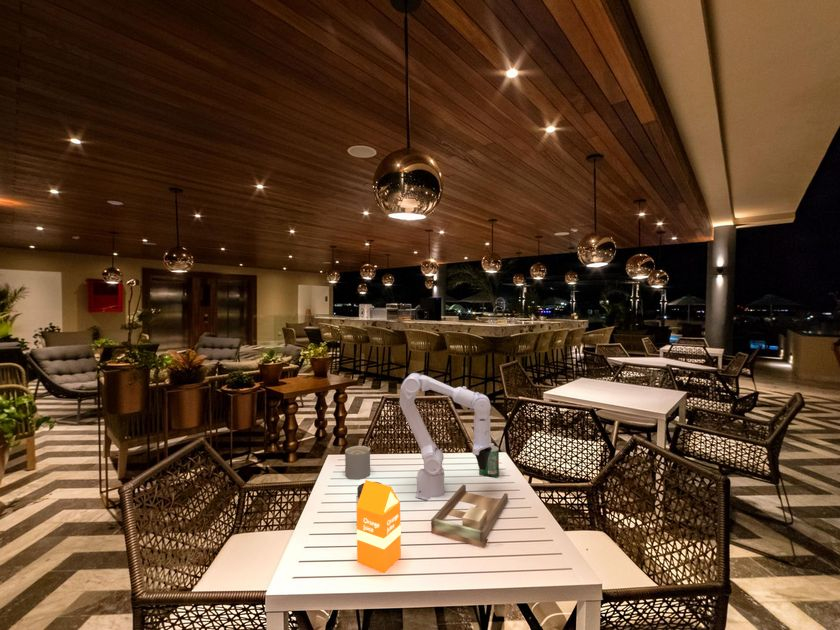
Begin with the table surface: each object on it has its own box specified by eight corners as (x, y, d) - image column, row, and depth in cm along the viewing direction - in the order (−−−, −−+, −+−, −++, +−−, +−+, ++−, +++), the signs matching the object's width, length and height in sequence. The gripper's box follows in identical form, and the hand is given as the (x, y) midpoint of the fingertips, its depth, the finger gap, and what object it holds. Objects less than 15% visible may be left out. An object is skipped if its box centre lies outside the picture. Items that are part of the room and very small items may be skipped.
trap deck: (431, 533, 111) (431, 519, 111) (463, 495, 134) (463, 484, 134) (483, 547, 103) (483, 533, 103) (507, 505, 126) (507, 493, 126)
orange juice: (374, 546, 104) (374, 474, 105) (401, 556, 100) (400, 481, 100) (356, 562, 98) (355, 485, 98) (384, 573, 93) (383, 493, 93)
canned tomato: (475, 474, 152) (474, 447, 152) (488, 469, 156) (488, 443, 157) (489, 481, 145) (489, 452, 145) (503, 475, 150) (502, 448, 150)
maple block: (462, 531, 109) (462, 517, 109) (470, 519, 115) (470, 506, 115) (479, 535, 106) (478, 521, 106) (486, 523, 113) (486, 510, 113)
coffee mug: (359, 481, 146) (358, 456, 146) (340, 476, 152) (340, 451, 152) (380, 469, 158) (380, 445, 158) (362, 465, 163) (361, 442, 163)
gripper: (486, 437, 123) (487, 478, 123) (499, 426, 136) (499, 463, 136) (466, 434, 127) (467, 475, 126) (480, 423, 139) (480, 460, 139)
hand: (482, 468), depth 131 cm, fingers closed
